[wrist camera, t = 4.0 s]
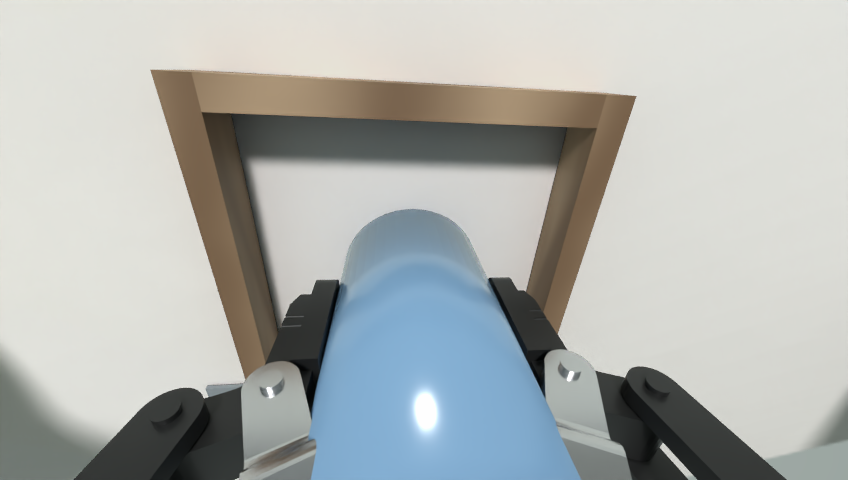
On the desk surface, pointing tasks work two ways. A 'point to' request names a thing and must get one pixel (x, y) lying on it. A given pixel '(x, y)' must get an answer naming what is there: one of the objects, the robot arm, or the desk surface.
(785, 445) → the desk surface
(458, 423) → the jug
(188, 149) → the holder
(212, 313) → the desk surface
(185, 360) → the desk surface
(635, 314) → the desk surface
